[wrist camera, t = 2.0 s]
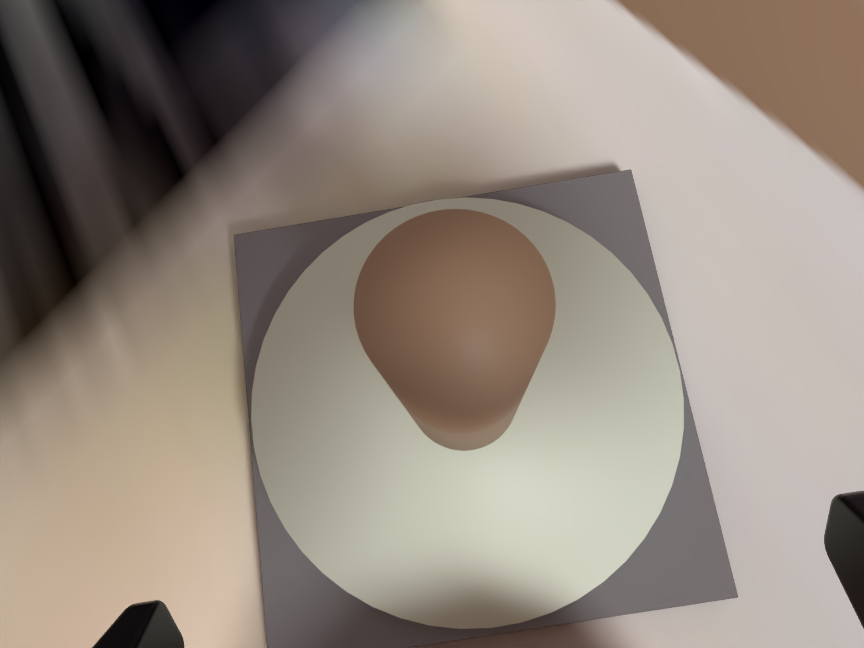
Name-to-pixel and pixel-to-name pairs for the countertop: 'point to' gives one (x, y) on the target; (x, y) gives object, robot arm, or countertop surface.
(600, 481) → the lid
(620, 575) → the mat
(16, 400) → the countertop surface
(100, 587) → the countertop surface
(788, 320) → the countertop surface
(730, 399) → the countertop surface
